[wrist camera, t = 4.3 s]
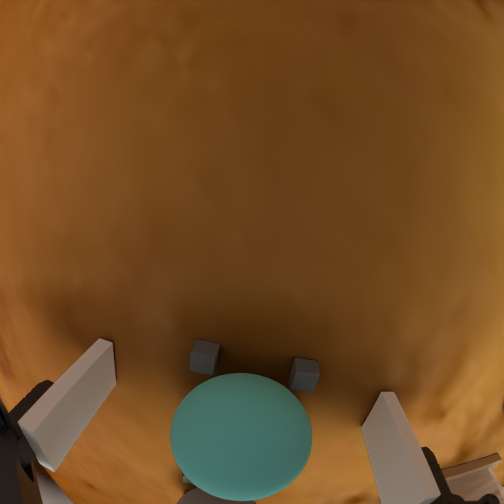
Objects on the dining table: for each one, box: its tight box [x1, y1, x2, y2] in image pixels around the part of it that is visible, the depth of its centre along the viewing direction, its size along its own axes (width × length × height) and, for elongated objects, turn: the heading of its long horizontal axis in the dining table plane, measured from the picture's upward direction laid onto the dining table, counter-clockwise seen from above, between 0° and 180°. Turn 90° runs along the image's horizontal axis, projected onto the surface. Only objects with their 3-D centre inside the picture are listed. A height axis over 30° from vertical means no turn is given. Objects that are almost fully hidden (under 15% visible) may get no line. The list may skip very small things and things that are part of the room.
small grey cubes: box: [183, 339, 320, 504], centre depth 13 cm, size 15×5×1 cm, turn 170°
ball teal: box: [170, 373, 312, 501], centre depth 10 cm, size 6×6×6 cm
